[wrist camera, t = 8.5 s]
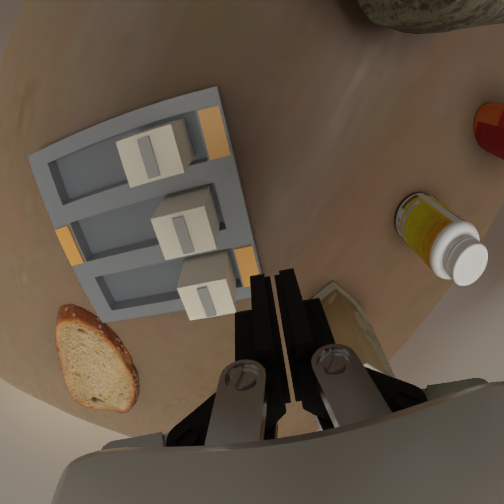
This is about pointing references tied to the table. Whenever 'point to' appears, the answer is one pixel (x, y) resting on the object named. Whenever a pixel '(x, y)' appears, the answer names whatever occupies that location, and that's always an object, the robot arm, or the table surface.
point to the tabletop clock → (433, 14)
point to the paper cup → (490, 128)
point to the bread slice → (95, 361)
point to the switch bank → (141, 207)
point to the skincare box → (353, 327)
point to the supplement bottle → (442, 239)
